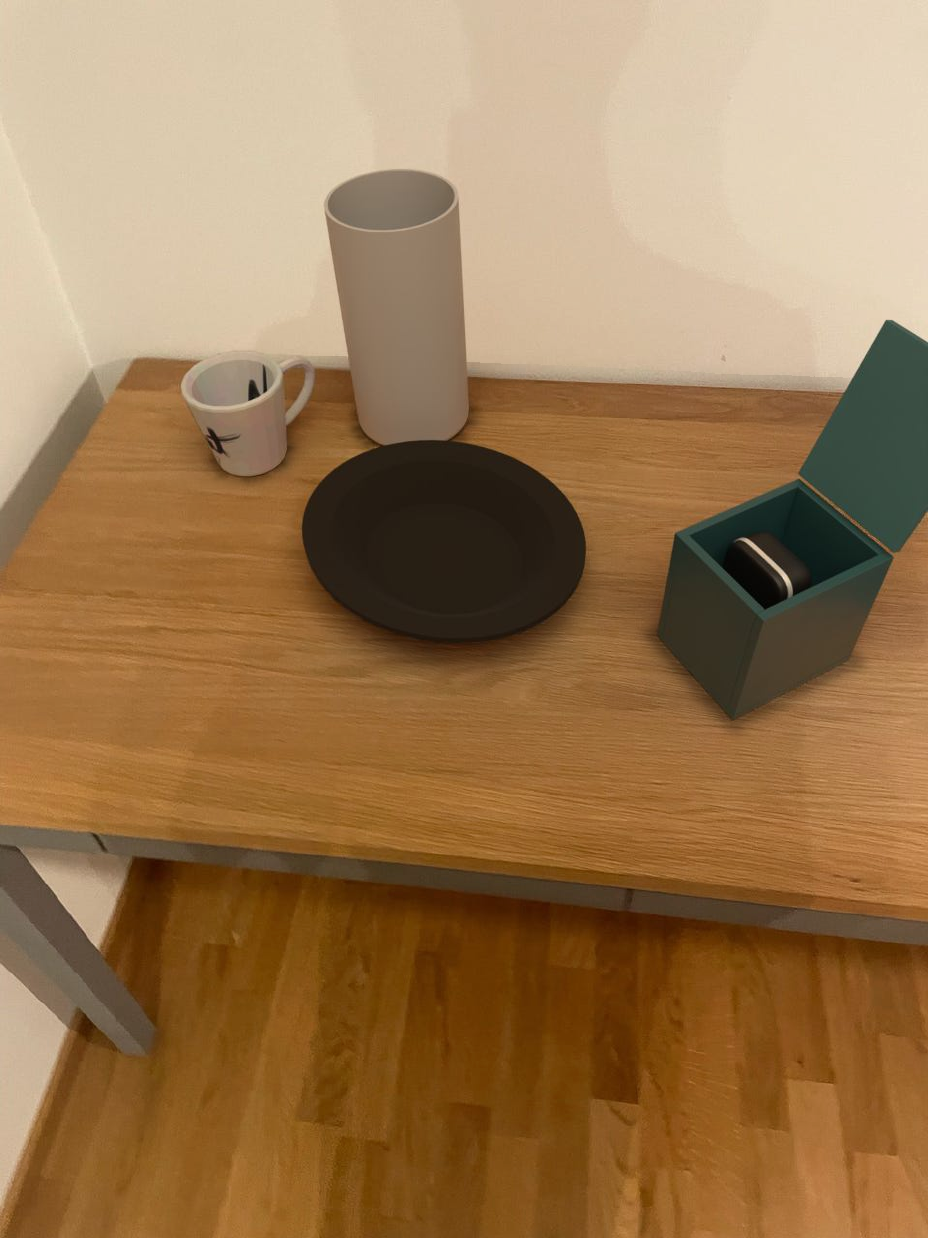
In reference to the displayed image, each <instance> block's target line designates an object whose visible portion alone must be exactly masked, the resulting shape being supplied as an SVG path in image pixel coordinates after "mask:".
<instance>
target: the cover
mask: <svg viewBox="0 0 928 1238" xmlns="http://www.w3.org/2000/svg"><path fill="white" fill-rule="evenodd" d="M797 475H798V476H799V477H800V478H802V479H803V480H804V481H805V482H807V483H808V484H809V485H811V486H812V487H813V488H814V489H815V490H816V491H818V492H819V493H820V494H821V495H822V496H824V498H826V499H827V500H829V502H831V503H832V504H833V505H835V506H836V507H837V508H838V509H840V510H841V511H842V513H844V514H845V515H847V516H848V517H849V518H850V519H852V520H853V521H854V522H855V523H856V524H858V526H859V527H861V528H863V529H864V530H865V531H866V532H868V533H869V534H870V535H871V536H872V537H874V538H875V539H876V540H877V541H878V542H880V543H881V544H882V545H883V546H884V547H885V548H887V549H888V550H889V551H890V552H892V553H893V554H896V553H899V552H901V551H902V549H903V548H904V546H905V545H906V543H907V541H908V540H909V539H910V537H911V536H912V534H913V533H914V532H915V530H916V529H917V528H918V526H919V524H920V523H921V522H922V520H923V519H924V517H925V516H926V514H927V513H928V341H927V340H925V339H924V338H922V337H920V336H919V335H917V334H916V333H914V332H912V331H911V330H909V329H908V328H906V327H904V326H903V325H902V324H899V323H898V322H896V321H895V320H893V319H885V320H884V323H883V324H882V325H881V328H880V329H879V331H878V333H877V335H876V336H875V338H874V339H873V341H872V343H871V345H870V347H869V348H868V350H867V352H866V353H865V356H864V357H863V359H862V360H861V362H860V364H859V366H858V367H857V369H856V371H855V373H854V375H853V376H852V378H851V380H850V382H849V384H848V385H847V387H846V389H845V391H844V392H843V394H842V396H841V397H840V399H839V400H838V402H837V405H836V406H835V407H834V410H833V411H832V413H831V415H830V417H829V418H828V420H827V422H826V424H825V426H824V427H823V429H822V430H821V432H820V434H819V436H818V438H817V439H816V441H815V442H814V445H813V446H812V448H811V450H810V452H809V453H808V455H807V457H806V459H805V460H804V462H803V464H802V465H801V467H800V469H799V471H798V472H797Z"/></svg>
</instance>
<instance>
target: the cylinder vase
mask: <svg viewBox="0 0 928 1238" xmlns="http://www.w3.org/2000/svg"><path fill="white" fill-rule="evenodd" d="M324 198H325V199H324V201H323V209H324V216H325V222H326V228H327V235H328V239H329V240H328V241H329V246H330V247H329V248H330V252H331V259H332V265H333V271H334V278H335V284H336V289H337V296H338V301H339V302H338V303H339V307H340V309H339V310H340V314H341V320H342V326H343V334H344V338H345V347H346V351H347V358H348V363H349V370H350V376H351V381H352V388H353V389H352V390H353V394H354V401H355V407H356V413H357V419H358V424H359V425H360V428H361V429H362V431H363V433H364V434H365V435H366V436H367V437H368V438H369V439H370V440H372V441H374V442H375V443H376V444H379V445H381V446H385V445H389V444H394V443H400V442H406V441H417V440H445V441H450V439H453V438H454V437H455V436H456V435H457V434H459V432H460V431H462V429H463V428H464V426H465V424H466V423H467V421H468V417H469V414H470V401H469V383H468V381H469V380H468V362H467V360H468V359H467V341H466V340H467V339H466V321H465V319H466V318H465V303H464V302H465V300H464V299H465V298H464V281H463V280H464V279H463V261H462V258H463V257H462V240H461V239H462V238H461V222H460V221H461V220H460V218H461V217H460V201H459V199H460V198H459V191H458V188H457V187H456V185H455V184H454V183H452V181H451V180H449V179H448V178H446V177H444V176H442V175H439V174H436V173H434V172H430V171H425V170H421V169H411V168H390V169H380V170H375V171H369V172H366V173H362V174H358V175H355V176H353V177H350V178H348V179H346V180H344V181H342V182H341V183H339V184H337V185H336V186H335V187H333V188H332V189H331V190H330V191H329V192H328V193H327V194H326V197H324Z"/></svg>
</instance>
